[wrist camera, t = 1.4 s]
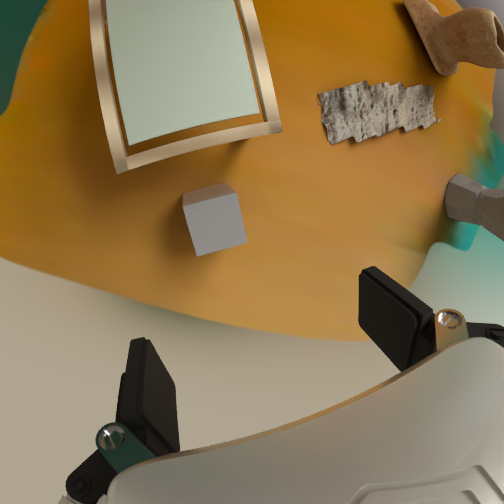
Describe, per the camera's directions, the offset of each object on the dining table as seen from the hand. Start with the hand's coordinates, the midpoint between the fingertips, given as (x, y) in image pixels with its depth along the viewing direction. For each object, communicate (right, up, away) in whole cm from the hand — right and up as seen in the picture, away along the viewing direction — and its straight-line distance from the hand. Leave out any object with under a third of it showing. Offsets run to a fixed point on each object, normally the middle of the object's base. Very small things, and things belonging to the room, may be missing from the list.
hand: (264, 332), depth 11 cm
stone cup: (+30, +40, +17) cm, 53 cm away
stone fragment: (+19, +24, +21) cm, 38 cm away
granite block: (-5, +8, +21) cm, 23 cm away
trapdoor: (-7, +21, +4) cm, 22 cm away
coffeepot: (+39, +13, +30) cm, 51 cm away
